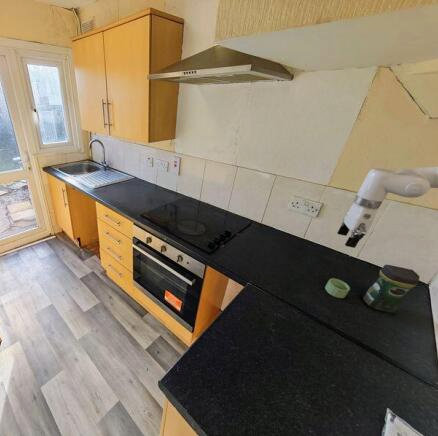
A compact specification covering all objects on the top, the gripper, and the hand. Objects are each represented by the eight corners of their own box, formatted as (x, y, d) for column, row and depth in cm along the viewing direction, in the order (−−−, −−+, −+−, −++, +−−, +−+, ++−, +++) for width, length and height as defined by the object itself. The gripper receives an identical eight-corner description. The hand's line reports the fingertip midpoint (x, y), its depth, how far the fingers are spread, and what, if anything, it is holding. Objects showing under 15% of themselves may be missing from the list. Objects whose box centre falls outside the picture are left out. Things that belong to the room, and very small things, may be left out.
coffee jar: (386, 301, 93) (413, 266, 85) (397, 316, 87) (428, 279, 78) (358, 294, 96) (381, 259, 87) (367, 308, 89) (393, 272, 81)
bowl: (332, 285, 100) (337, 277, 98) (349, 297, 94) (354, 289, 92) (320, 287, 98) (325, 279, 96) (336, 300, 92) (341, 292, 90)
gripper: (391, 213, 76) (365, 254, 84) (369, 196, 90) (349, 232, 98) (364, 208, 78) (341, 249, 87) (346, 192, 93) (328, 228, 101)
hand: (345, 240), depth 92 cm, fingers open, 9 cm apart
